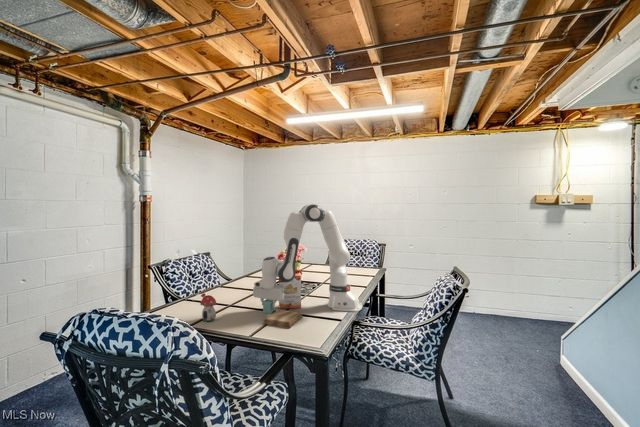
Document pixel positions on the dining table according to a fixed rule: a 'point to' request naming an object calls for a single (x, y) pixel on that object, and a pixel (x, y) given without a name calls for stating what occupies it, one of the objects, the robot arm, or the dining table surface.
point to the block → (268, 306)
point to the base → (283, 318)
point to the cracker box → (291, 293)
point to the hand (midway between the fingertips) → (268, 306)
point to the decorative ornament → (208, 308)
